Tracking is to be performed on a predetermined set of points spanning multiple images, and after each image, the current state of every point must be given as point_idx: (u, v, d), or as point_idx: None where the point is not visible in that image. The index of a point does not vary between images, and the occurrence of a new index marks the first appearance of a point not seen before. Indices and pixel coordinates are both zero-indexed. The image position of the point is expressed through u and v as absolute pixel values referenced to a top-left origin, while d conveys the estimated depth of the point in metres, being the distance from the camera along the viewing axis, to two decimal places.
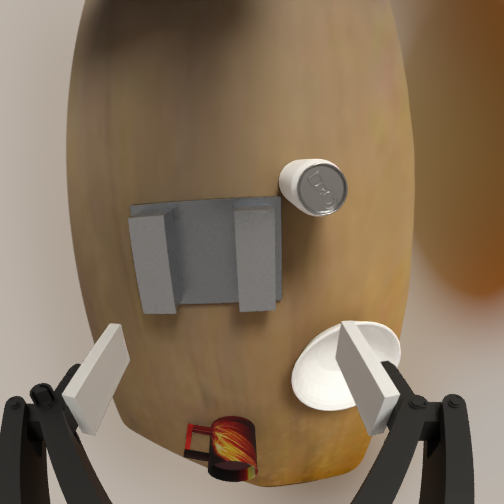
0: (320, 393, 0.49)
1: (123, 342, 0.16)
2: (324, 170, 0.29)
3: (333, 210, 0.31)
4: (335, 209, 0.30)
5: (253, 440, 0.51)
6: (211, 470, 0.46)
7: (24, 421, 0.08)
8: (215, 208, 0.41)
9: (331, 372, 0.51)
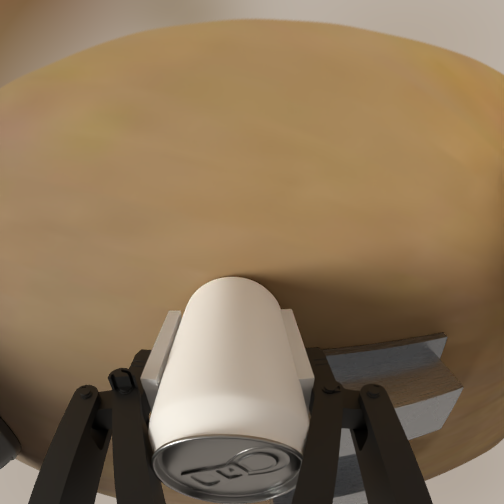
0: None
1: None
2: (174, 465, 0.08)
3: None
4: None
5: None
6: None
7: (92, 413, 0.09)
8: None
9: None
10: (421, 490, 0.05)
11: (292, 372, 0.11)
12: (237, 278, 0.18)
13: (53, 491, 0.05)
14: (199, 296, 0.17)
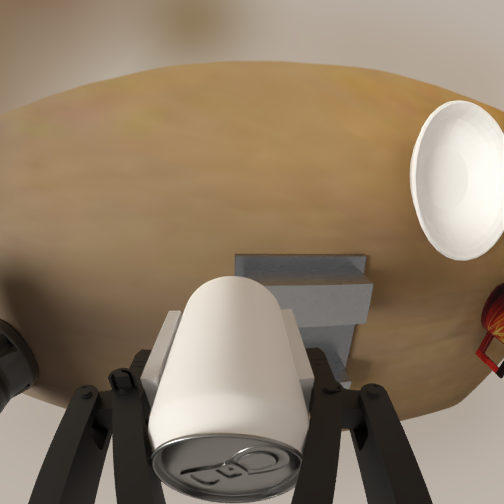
0: (489, 212, 0.30)
1: None
2: (173, 464, 0.08)
3: None
4: None
5: None
6: None
7: (92, 413, 0.09)
8: None
9: (468, 190, 0.32)
10: (421, 490, 0.05)
11: (292, 371, 0.11)
12: (237, 277, 0.18)
13: (53, 491, 0.05)
14: (199, 295, 0.17)
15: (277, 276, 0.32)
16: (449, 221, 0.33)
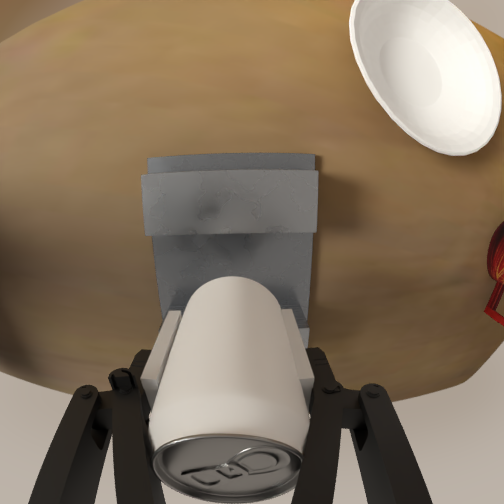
0: (474, 111, 0.22)
1: None
2: (174, 464, 0.08)
3: None
4: None
5: None
6: None
7: (92, 413, 0.09)
8: (165, 249, 0.29)
9: (443, 89, 0.24)
10: (420, 490, 0.05)
11: (292, 371, 0.11)
12: (237, 278, 0.18)
13: (53, 491, 0.05)
14: (199, 296, 0.17)
15: None
16: (424, 118, 0.25)
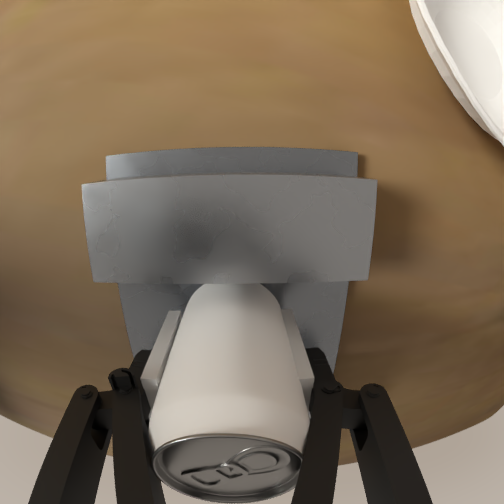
0: None
1: None
2: (174, 464, 0.08)
3: None
4: None
5: None
6: None
7: (92, 413, 0.09)
8: (135, 290, 0.19)
9: None
10: (421, 490, 0.05)
11: (292, 371, 0.11)
12: None
13: (53, 491, 0.05)
14: (199, 295, 0.17)
15: (163, 175, 0.14)
16: (490, 114, 0.15)
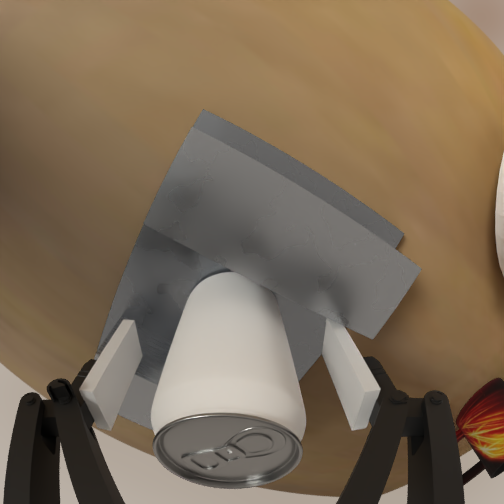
0: None
1: (136, 338, 0.16)
2: (174, 447, 0.09)
3: None
4: None
5: None
6: None
7: (39, 418, 0.08)
8: (155, 245, 0.19)
9: None
10: (458, 500, 0.04)
11: (287, 360, 0.12)
12: (236, 273, 0.19)
13: (21, 497, 0.04)
14: (199, 290, 0.17)
15: None
16: None
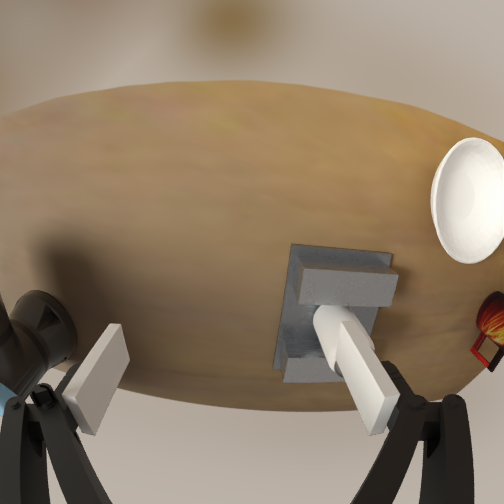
0: (489, 227, 0.38)
1: (123, 342, 0.16)
2: None
3: None
4: None
5: None
6: None
7: (24, 421, 0.08)
8: (292, 304, 0.44)
9: (474, 208, 0.40)
10: None
11: (361, 327, 0.36)
12: None
13: (12, 501, 0.04)
14: (319, 314, 0.42)
15: (326, 264, 0.39)
16: (457, 232, 0.40)
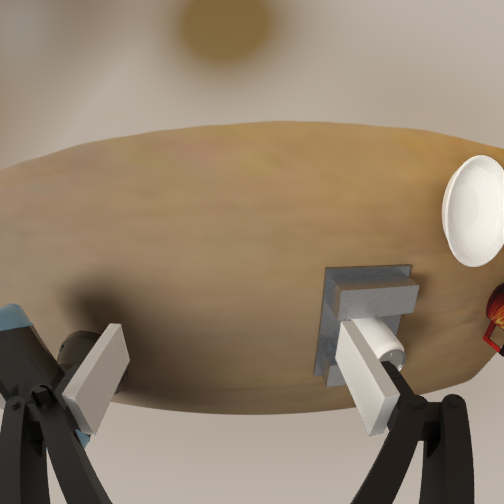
0: (493, 231, 0.42)
1: (123, 342, 0.16)
2: None
3: (401, 350, 0.37)
4: (400, 350, 0.37)
5: None
6: None
7: (24, 421, 0.08)
8: (329, 319, 0.48)
9: (478, 214, 0.44)
10: None
11: (391, 333, 0.40)
12: None
13: (13, 501, 0.04)
14: None
15: (358, 283, 0.43)
16: (465, 238, 0.44)
